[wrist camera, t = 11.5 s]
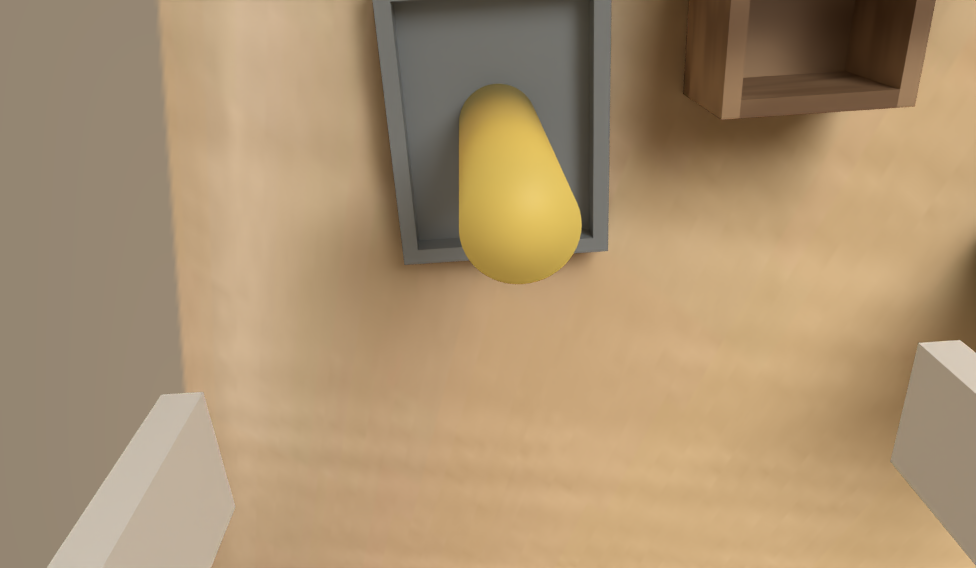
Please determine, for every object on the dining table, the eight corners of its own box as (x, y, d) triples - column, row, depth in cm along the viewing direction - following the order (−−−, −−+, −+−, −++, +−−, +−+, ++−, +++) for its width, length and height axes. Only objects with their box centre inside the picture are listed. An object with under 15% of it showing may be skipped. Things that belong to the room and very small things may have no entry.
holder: (694, -94, 33) (739, -101, 28) (877, -106, 33) (958, -116, 28) (683, 93, 37) (721, 119, 32) (848, 82, 37) (914, 106, 32)
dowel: (456, 86, 36) (454, 173, 22) (535, 80, 36) (581, 164, 22) (461, 163, 38) (463, 288, 24) (537, 158, 38) (581, 280, 24)
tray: (375, -19, 34) (370, -16, 32) (603, -34, 34) (611, -33, 32) (407, 250, 40) (404, 264, 38) (601, 237, 40) (608, 251, 38)
